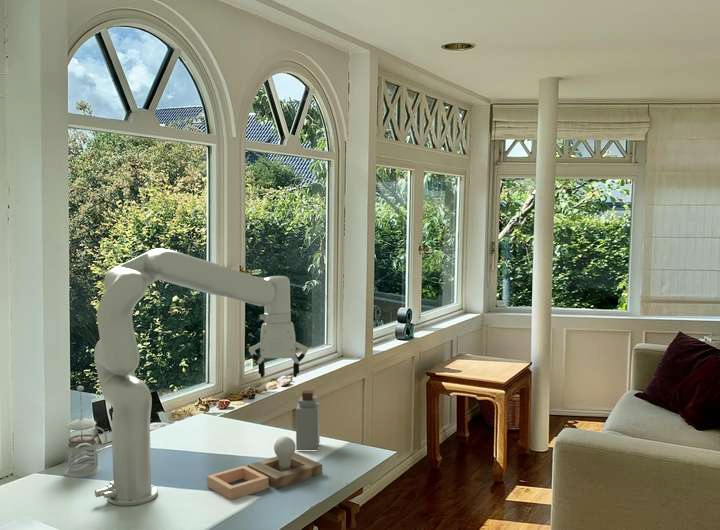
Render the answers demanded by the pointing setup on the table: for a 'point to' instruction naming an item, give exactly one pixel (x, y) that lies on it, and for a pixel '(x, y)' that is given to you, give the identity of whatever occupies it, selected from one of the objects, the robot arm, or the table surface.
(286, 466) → the lightbulb
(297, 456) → the walnut holder
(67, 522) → the table surface
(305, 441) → the perfume bottle
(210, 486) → the terracotta stand
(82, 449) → the french press
